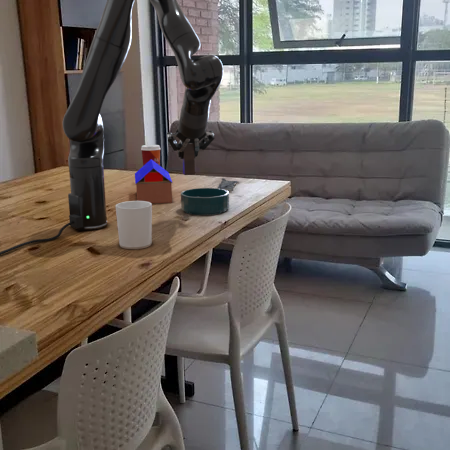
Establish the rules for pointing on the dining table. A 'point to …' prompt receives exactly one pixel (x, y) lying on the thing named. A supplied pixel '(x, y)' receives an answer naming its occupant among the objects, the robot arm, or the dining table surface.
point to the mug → (134, 224)
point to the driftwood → (226, 184)
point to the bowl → (204, 201)
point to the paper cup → (151, 153)
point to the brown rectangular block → (189, 160)
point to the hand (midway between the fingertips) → (187, 156)
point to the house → (153, 184)
